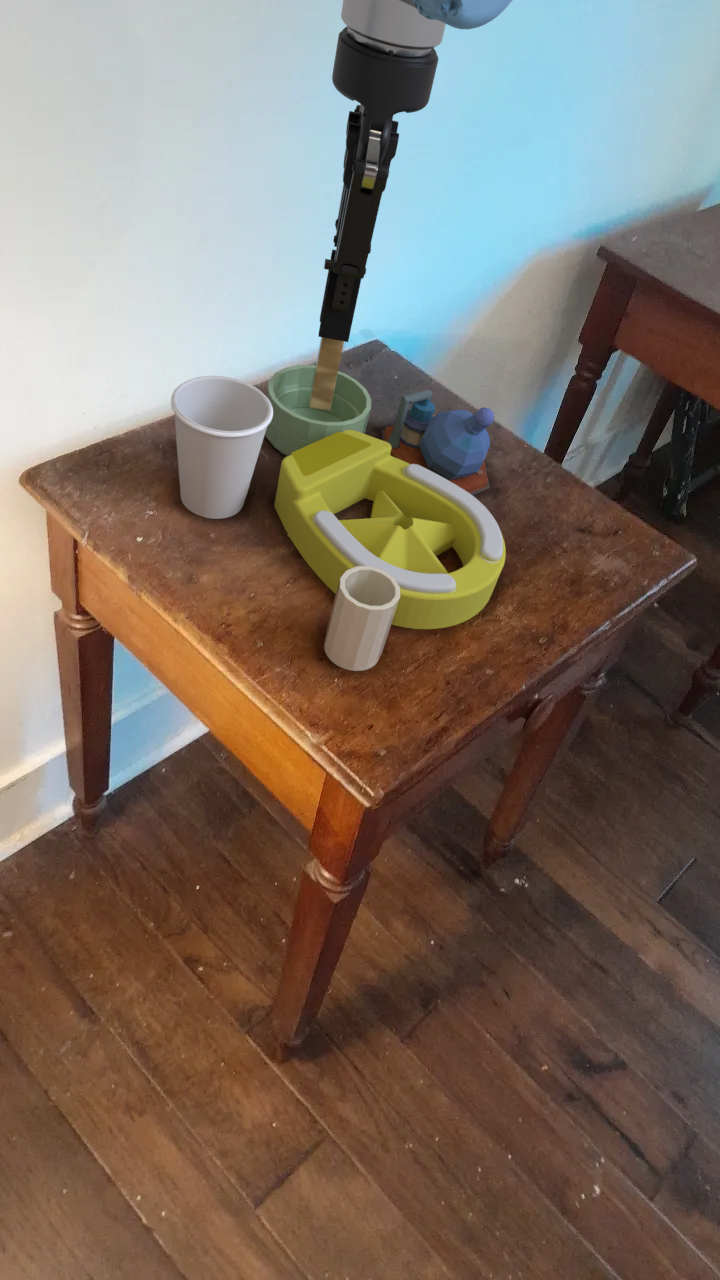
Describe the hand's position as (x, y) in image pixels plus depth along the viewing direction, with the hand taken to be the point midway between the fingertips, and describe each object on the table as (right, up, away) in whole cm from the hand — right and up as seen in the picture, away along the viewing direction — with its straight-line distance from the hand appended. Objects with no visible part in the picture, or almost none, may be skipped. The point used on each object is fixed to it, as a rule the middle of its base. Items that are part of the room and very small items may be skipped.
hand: (333, 329), depth 86 cm
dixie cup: (-11, -16, -1) cm, 19 cm away
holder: (+2, -29, -10) cm, 31 cm away
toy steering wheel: (+5, -20, -1) cm, 21 cm away
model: (+10, -10, +10) cm, 17 cm away
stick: (-2, -5, +6) cm, 8 cm away
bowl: (-2, -8, +8) cm, 12 cm away
